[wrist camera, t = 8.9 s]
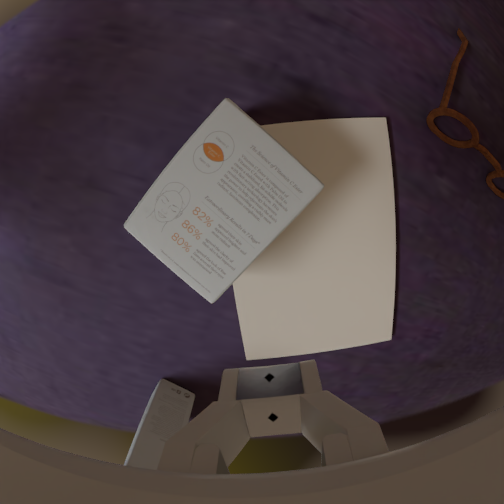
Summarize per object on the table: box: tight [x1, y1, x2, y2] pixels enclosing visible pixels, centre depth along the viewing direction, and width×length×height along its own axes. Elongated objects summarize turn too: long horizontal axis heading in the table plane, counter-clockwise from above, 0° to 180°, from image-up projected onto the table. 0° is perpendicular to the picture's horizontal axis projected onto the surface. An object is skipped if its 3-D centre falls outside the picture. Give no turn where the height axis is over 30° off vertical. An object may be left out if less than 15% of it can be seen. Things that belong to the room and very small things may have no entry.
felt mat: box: [233, 118, 396, 360], centre depth 24 cm, size 14×20×1 cm
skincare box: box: [124, 379, 195, 470], centre depth 24 cm, size 6×4×12 cm
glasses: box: [427, 28, 504, 199], centre depth 18 cm, size 13×13×5 cm
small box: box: [124, 98, 324, 303], centre depth 20 cm, size 8×6×10 cm
